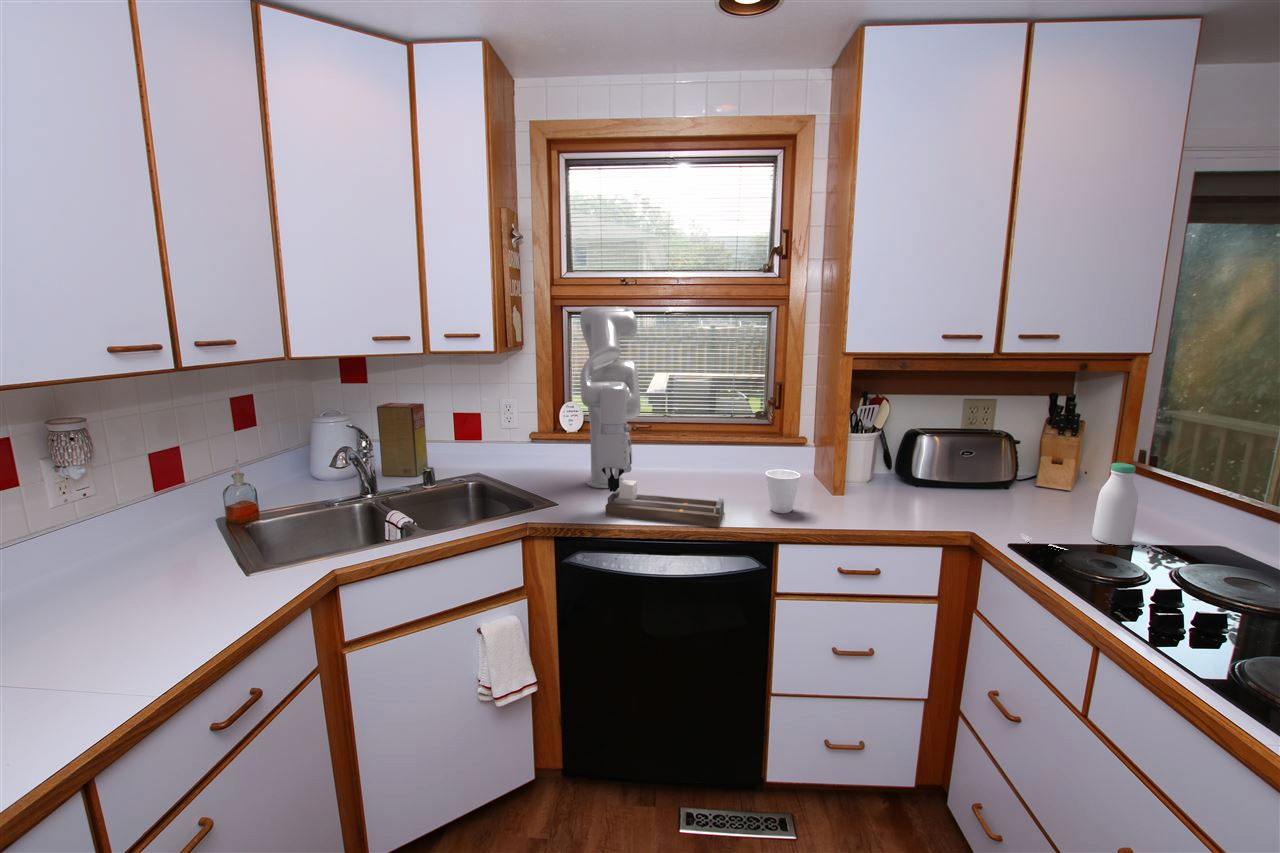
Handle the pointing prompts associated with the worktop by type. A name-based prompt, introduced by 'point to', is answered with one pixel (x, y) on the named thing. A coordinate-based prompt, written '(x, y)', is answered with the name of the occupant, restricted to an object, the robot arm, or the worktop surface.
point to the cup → (782, 489)
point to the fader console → (666, 509)
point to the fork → (1031, 539)
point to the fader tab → (628, 490)
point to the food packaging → (402, 439)
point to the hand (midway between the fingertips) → (613, 490)
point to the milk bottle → (1116, 507)
